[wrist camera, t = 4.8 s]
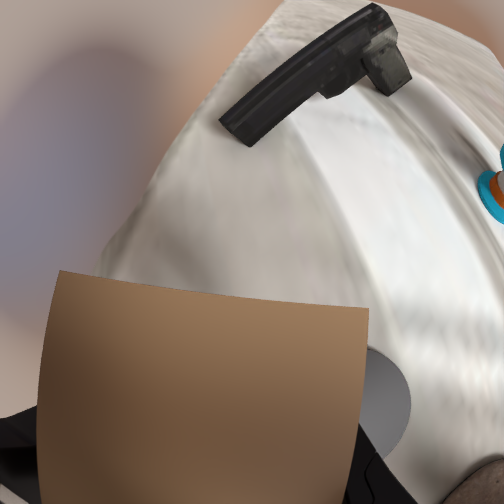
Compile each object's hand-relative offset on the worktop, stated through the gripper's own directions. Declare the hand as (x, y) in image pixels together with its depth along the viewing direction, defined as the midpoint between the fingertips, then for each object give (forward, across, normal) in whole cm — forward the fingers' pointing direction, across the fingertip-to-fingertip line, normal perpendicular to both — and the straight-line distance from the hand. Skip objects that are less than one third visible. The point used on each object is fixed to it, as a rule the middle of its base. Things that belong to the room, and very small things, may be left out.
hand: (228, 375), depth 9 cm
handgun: (+30, -6, -11) cm, 33 cm away
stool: (+4, 0, +6) cm, 7 cm away
